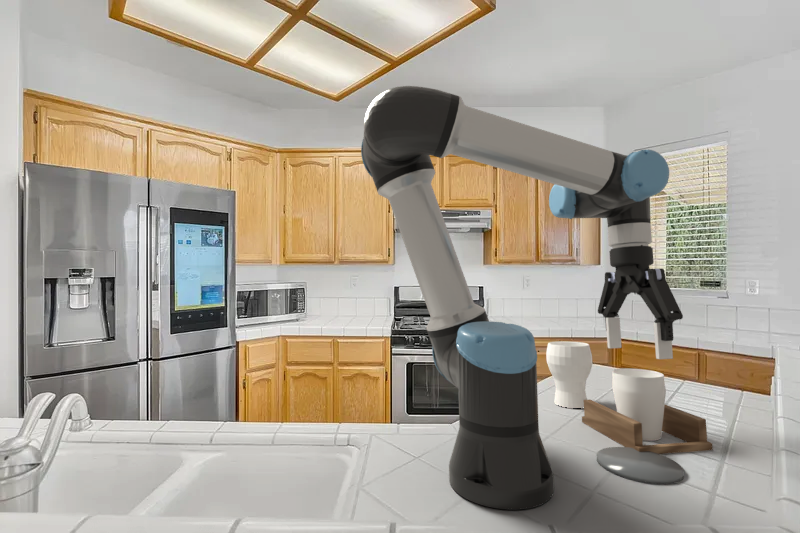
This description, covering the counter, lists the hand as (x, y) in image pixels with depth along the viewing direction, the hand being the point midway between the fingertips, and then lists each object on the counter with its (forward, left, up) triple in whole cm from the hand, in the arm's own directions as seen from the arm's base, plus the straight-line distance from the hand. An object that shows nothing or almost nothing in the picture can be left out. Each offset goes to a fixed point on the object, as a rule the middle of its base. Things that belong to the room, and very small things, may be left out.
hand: (637, 353), depth 76 cm
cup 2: (0, 0, -16) cm, 16 cm away
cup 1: (-3, +21, -16) cm, 26 cm away
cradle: (0, 0, -16) cm, 16 cm away
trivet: (-10, -12, -16) cm, 22 cm away
